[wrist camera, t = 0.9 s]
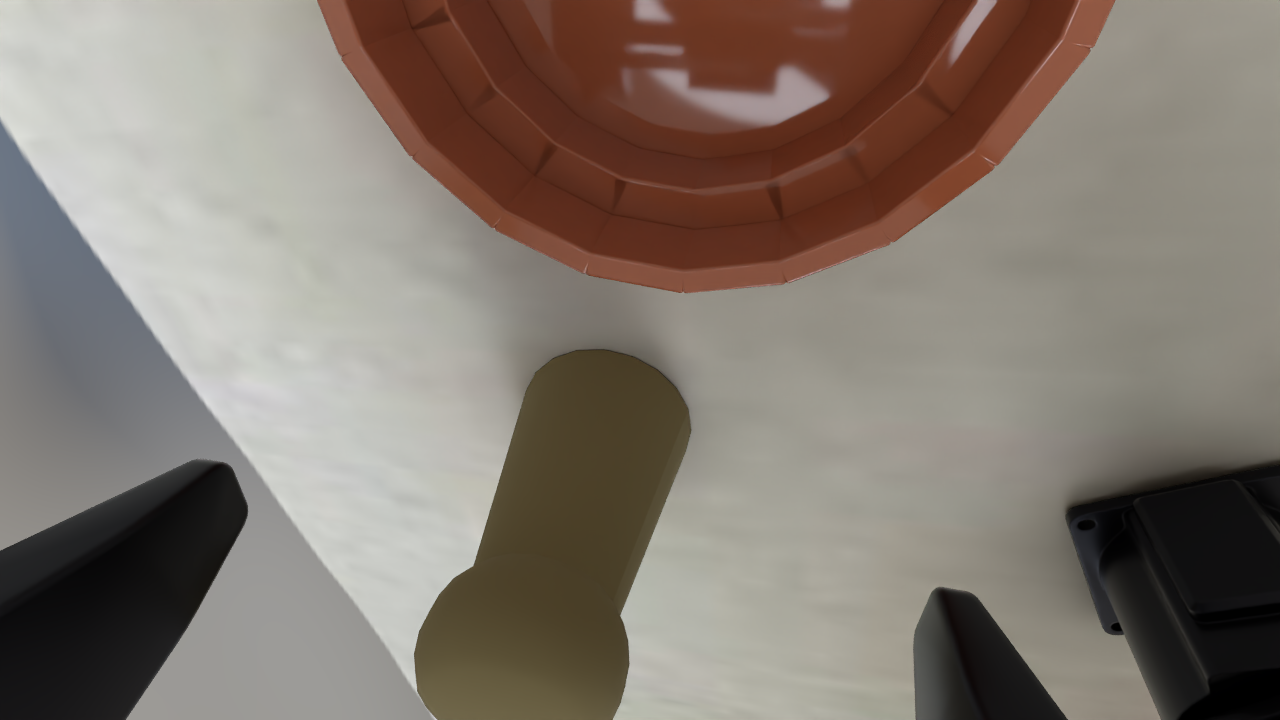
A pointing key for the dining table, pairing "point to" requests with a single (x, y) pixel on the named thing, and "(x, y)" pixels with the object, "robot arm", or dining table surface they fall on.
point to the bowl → (710, 119)
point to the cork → (558, 549)
